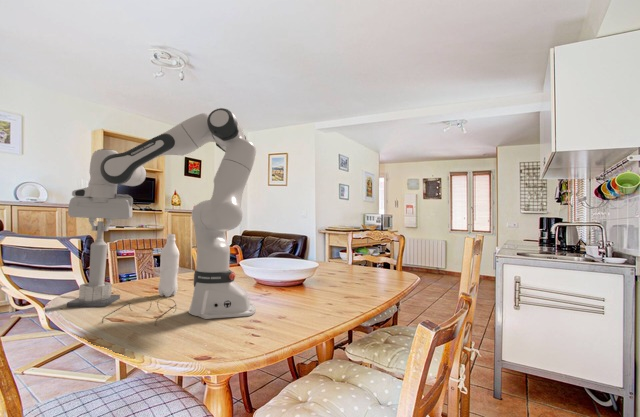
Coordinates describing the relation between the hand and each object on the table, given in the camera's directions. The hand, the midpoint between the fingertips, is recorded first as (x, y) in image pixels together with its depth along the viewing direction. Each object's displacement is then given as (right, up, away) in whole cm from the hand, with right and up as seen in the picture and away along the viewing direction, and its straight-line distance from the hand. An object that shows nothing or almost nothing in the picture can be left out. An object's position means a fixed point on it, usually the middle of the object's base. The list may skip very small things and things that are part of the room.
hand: (100, 230), depth 118 cm
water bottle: (+18, -28, +14) cm, 36 cm away
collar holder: (-1, -26, -1) cm, 26 cm away
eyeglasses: (+24, -27, -16) cm, 39 cm away
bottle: (-1, -22, -1) cm, 22 cm away
